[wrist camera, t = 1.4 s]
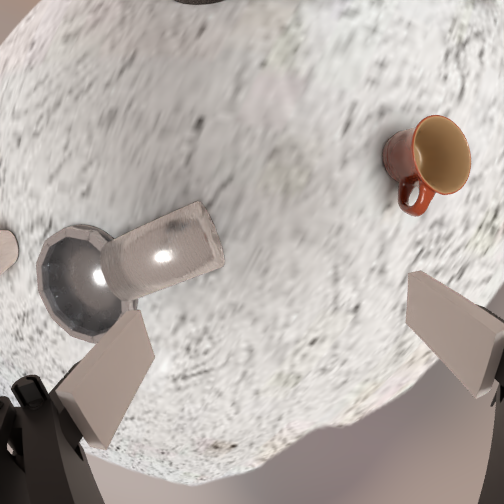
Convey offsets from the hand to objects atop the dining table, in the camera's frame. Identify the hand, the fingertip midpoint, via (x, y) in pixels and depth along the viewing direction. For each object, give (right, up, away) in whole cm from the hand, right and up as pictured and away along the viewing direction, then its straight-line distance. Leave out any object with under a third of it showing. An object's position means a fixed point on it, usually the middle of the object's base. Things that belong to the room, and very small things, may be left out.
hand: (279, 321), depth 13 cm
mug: (+19, +14, +22) cm, 32 cm away
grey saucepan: (-20, +1, +25) cm, 33 cm away
